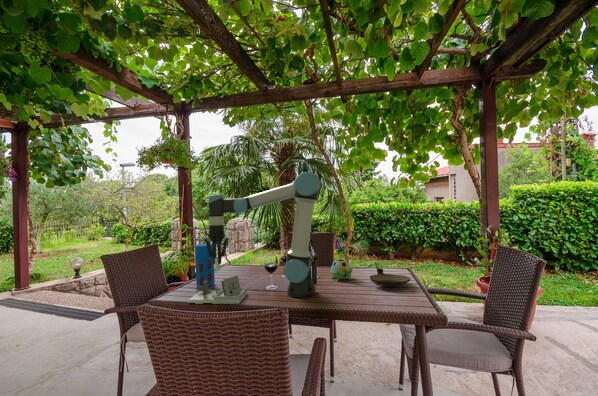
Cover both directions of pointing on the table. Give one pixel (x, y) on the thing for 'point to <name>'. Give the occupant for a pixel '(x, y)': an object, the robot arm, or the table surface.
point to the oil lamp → (388, 279)
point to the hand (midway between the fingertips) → (217, 270)
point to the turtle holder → (341, 269)
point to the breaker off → (202, 289)
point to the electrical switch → (231, 286)
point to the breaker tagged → (205, 288)
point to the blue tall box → (204, 266)
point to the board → (218, 297)
